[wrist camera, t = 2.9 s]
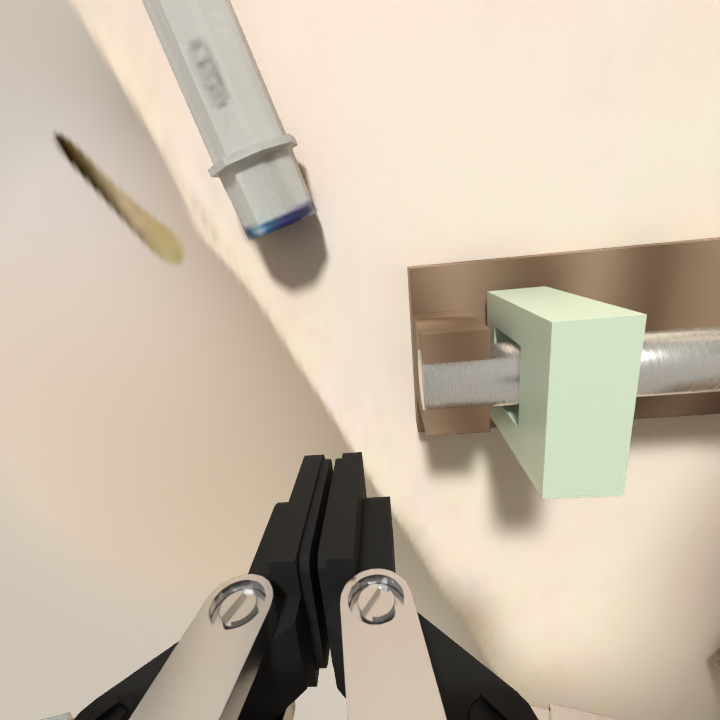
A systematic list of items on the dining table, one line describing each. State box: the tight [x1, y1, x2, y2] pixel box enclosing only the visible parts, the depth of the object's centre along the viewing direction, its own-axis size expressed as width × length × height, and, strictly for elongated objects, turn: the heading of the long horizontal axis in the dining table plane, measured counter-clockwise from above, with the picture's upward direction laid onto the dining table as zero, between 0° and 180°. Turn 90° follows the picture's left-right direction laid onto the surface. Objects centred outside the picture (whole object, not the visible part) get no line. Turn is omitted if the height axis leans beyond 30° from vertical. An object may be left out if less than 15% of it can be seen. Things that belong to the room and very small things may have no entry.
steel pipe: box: [418, 326, 720, 410], centre depth 18 cm, size 24×5×5 cm, turn 95°
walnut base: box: [408, 237, 720, 436], centre depth 20 cm, size 24×10×6 cm, turn 95°
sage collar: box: [487, 286, 647, 499], centre depth 17 cm, size 3×7×8 cm, turn 6°
